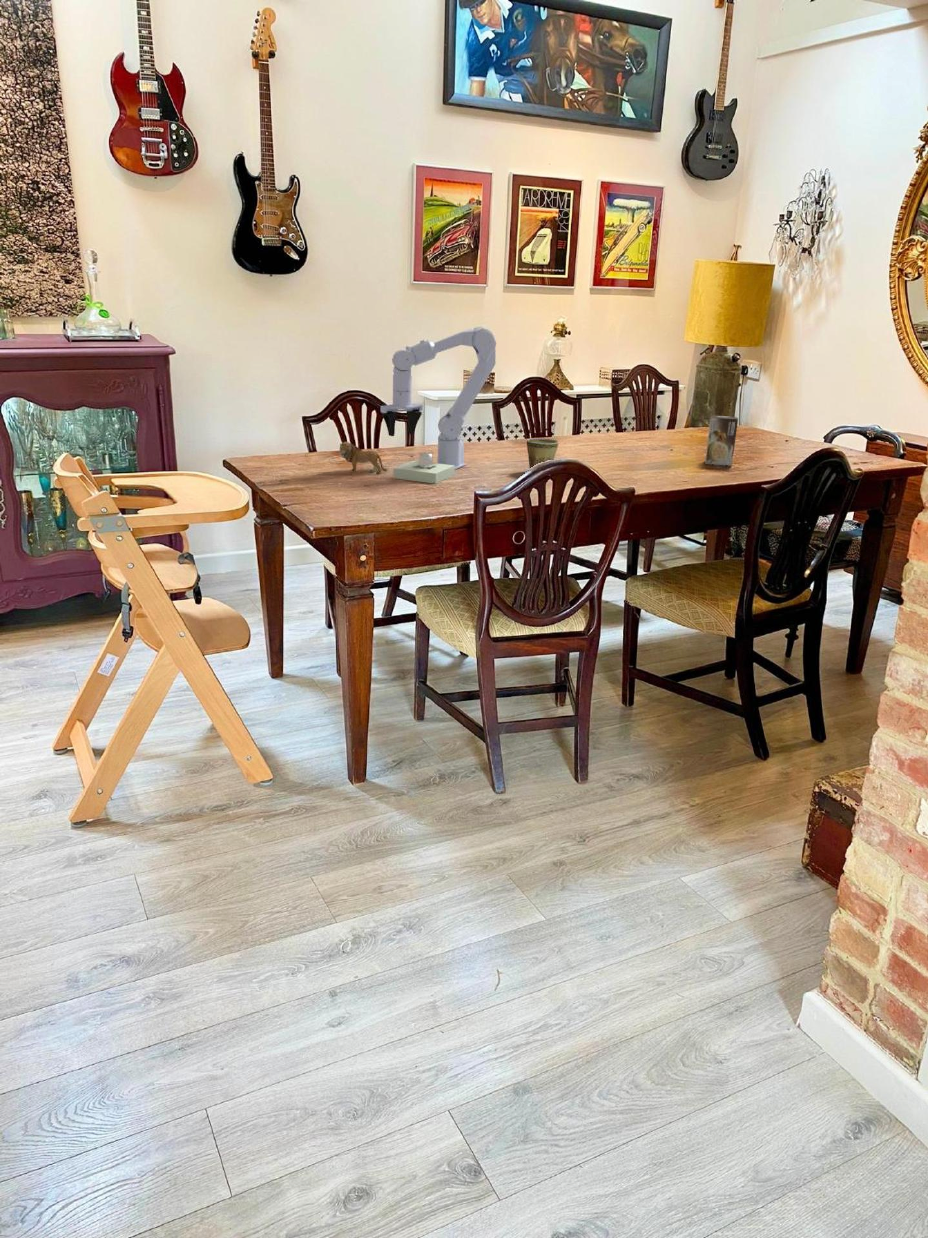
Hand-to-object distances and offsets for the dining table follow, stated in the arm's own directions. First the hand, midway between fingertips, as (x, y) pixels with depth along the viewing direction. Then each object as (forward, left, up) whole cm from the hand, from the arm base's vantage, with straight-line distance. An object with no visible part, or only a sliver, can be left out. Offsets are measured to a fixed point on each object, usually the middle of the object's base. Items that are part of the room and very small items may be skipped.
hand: (401, 434), depth 274 cm
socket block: (+10, +13, -10) cm, 19 cm away
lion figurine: (+15, -6, -10) cm, 19 cm away
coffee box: (-67, +90, -10) cm, 113 cm away
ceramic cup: (-18, +41, -10) cm, 46 cm away
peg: (+10, +13, -10) cm, 19 cm away
